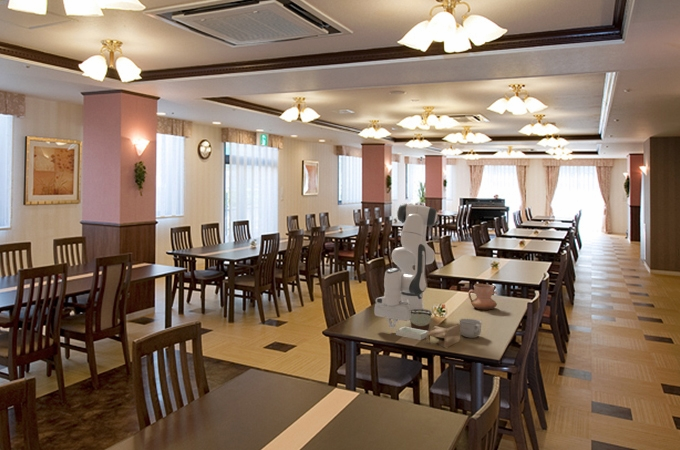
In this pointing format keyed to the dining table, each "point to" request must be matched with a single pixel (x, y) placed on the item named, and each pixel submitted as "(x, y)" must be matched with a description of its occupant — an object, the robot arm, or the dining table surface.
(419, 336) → the tray
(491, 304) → the ceramic jug
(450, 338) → the tan notched block
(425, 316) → the food container
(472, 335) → the teacup
